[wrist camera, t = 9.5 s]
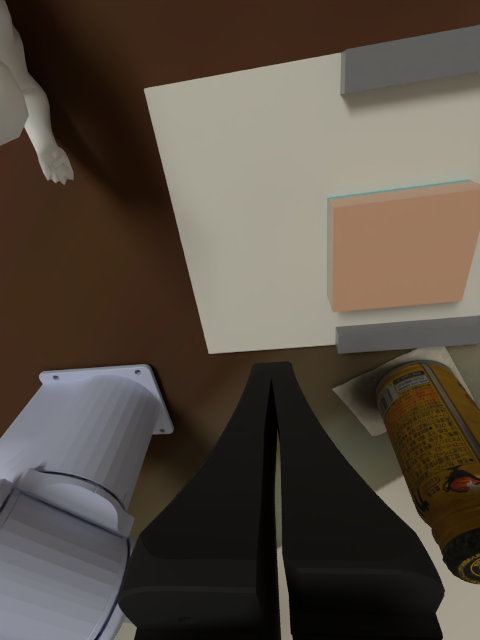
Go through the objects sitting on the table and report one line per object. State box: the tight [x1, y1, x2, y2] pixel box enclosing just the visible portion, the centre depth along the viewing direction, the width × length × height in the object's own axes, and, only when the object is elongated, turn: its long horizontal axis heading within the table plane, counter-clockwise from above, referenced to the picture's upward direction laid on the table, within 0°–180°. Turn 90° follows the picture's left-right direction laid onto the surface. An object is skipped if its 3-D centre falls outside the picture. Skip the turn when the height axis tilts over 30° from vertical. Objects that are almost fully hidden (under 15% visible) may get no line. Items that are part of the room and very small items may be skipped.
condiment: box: [332, 346, 480, 584], centre depth 21 cm, size 7×8×12 cm
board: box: [144, 25, 480, 354], centre depth 18 cm, size 18×16×2 cm
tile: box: [327, 180, 480, 312], centre depth 18 cm, size 2×6×7 cm
